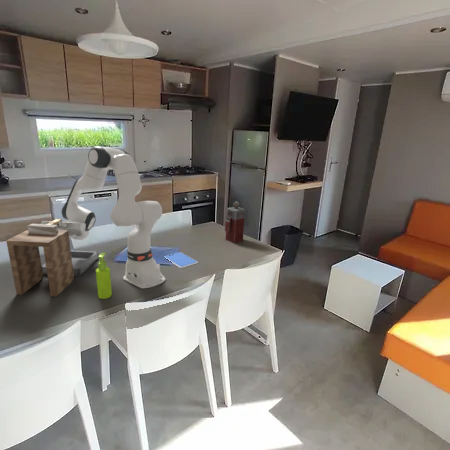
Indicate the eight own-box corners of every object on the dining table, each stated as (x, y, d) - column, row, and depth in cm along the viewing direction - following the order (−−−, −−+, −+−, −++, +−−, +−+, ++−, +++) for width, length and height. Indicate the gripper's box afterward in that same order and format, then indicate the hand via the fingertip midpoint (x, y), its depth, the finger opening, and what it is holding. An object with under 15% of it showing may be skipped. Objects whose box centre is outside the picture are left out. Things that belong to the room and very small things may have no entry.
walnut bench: (38, 277, 150) (30, 228, 142) (74, 279, 150) (68, 230, 142) (16, 294, 135) (6, 240, 127) (56, 296, 135) (48, 242, 127)
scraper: (48, 223, 151) (47, 216, 150) (71, 224, 151) (70, 217, 150) (28, 232, 137) (27, 225, 136) (54, 234, 136) (53, 227, 135)
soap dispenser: (114, 290, 142) (111, 251, 136) (109, 298, 135) (106, 258, 129) (101, 290, 141) (98, 251, 135) (96, 298, 135) (92, 257, 129)
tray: (64, 256, 175) (63, 250, 174) (98, 258, 175) (97, 251, 174) (41, 273, 154) (40, 266, 153) (80, 275, 154) (79, 268, 153)
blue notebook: (162, 258, 180) (162, 256, 180) (180, 253, 189) (180, 251, 188) (180, 269, 167) (180, 267, 167) (198, 263, 175) (198, 261, 175)
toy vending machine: (222, 240, 212) (224, 201, 203) (234, 237, 219) (236, 199, 210) (231, 244, 205) (233, 204, 197) (243, 240, 213) (245, 202, 204)
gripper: (50, 221, 161) (34, 215, 147) (88, 223, 160) (76, 217, 147) (48, 233, 159) (32, 228, 146) (86, 235, 159) (74, 230, 145)
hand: (54, 223), depth 146 cm, fingers closed on scraper, 2 cm apart
